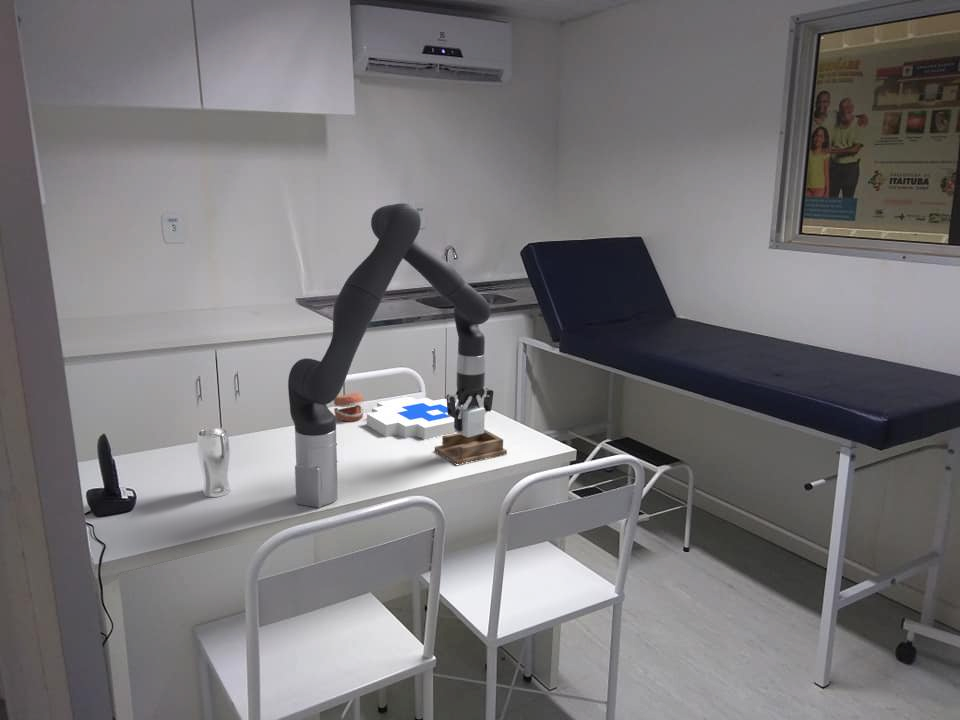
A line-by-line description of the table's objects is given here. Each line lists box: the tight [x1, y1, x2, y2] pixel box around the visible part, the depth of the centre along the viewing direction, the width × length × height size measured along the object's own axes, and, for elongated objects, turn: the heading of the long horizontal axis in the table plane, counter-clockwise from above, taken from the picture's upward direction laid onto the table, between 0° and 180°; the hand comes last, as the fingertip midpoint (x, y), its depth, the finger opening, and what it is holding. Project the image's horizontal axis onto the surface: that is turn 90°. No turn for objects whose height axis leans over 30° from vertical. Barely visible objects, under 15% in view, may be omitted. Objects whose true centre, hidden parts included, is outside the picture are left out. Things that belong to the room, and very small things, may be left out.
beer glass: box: [197, 427, 231, 498], centre depth 171 cm, size 7×7×15 cm
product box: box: [454, 405, 486, 437], centre depth 199 cm, size 6×6×7 cm
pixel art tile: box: [366, 396, 457, 440], centre depth 224 cm, size 28×4×28 cm
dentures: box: [333, 392, 364, 422], centre depth 225 cm, size 9×7×8 cm
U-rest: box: [434, 428, 508, 465], centre depth 201 cm, size 16×12×4 cm
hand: (469, 428), depth 200 cm, fingers closed on product box, 6 cm apart
